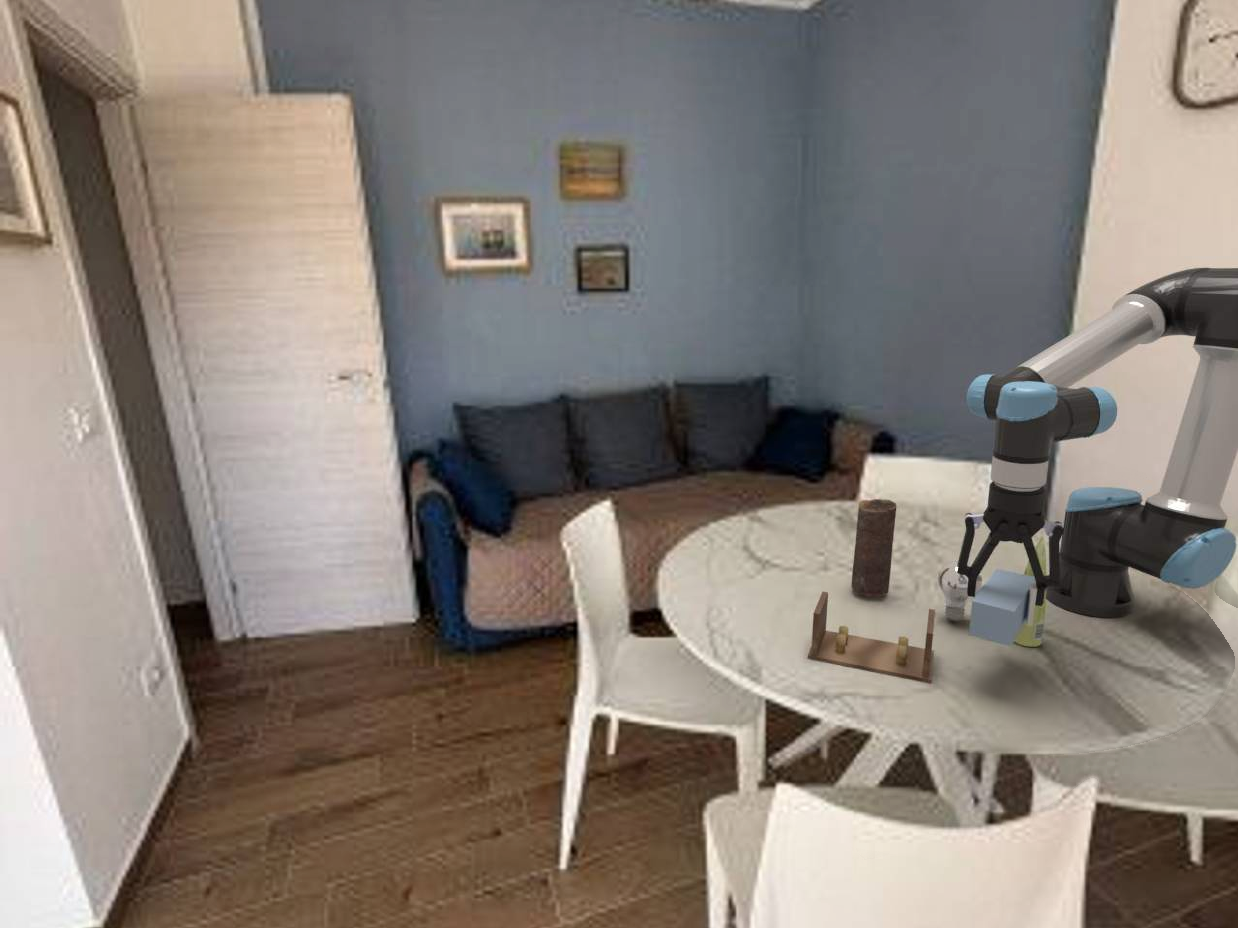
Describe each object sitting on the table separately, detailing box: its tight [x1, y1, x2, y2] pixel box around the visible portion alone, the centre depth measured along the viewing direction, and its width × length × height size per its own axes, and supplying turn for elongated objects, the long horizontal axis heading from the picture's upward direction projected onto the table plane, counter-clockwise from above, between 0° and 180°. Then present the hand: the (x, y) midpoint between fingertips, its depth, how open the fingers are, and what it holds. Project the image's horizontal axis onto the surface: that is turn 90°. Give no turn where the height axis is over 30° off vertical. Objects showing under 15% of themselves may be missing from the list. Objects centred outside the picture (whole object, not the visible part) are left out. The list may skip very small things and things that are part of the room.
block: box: [968, 568, 1036, 648], centre depth 118 cm, size 6×14×6 cm, turn 140°
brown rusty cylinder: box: [850, 498, 897, 598], centre depth 148 cm, size 8×7×20 cm
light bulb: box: [937, 561, 972, 623], centre depth 138 cm, size 7×7×12 cm
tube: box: [1014, 533, 1047, 648], centre depth 130 cm, size 6×5×20 cm
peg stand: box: [807, 591, 936, 684], centre depth 127 cm, size 20×10×9 cm, turn 65°
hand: (1001, 617), depth 119 cm, fingers closed on block, 7 cm apart
